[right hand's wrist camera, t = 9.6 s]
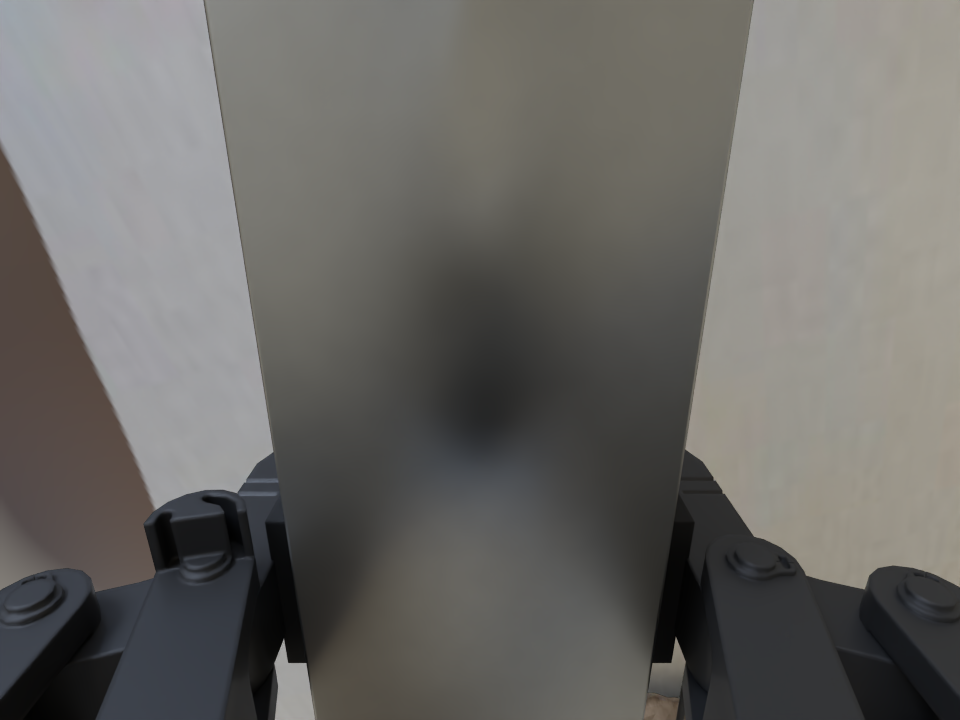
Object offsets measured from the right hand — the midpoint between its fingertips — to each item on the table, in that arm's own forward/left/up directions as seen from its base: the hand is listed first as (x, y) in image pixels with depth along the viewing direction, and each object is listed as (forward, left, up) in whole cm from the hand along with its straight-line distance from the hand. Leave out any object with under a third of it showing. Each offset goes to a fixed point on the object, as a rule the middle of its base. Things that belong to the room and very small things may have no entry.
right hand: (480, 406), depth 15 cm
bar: (+9, 0, -1) cm, 9 cm away
